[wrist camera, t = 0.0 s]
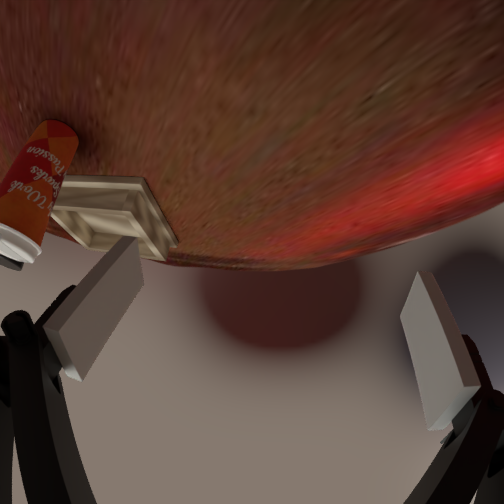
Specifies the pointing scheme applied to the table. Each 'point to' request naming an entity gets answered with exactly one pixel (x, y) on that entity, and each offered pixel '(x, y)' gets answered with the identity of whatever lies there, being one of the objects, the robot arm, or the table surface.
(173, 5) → the table surface
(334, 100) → the table surface
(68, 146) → the paper cup
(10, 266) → the jar
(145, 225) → the cup tray
